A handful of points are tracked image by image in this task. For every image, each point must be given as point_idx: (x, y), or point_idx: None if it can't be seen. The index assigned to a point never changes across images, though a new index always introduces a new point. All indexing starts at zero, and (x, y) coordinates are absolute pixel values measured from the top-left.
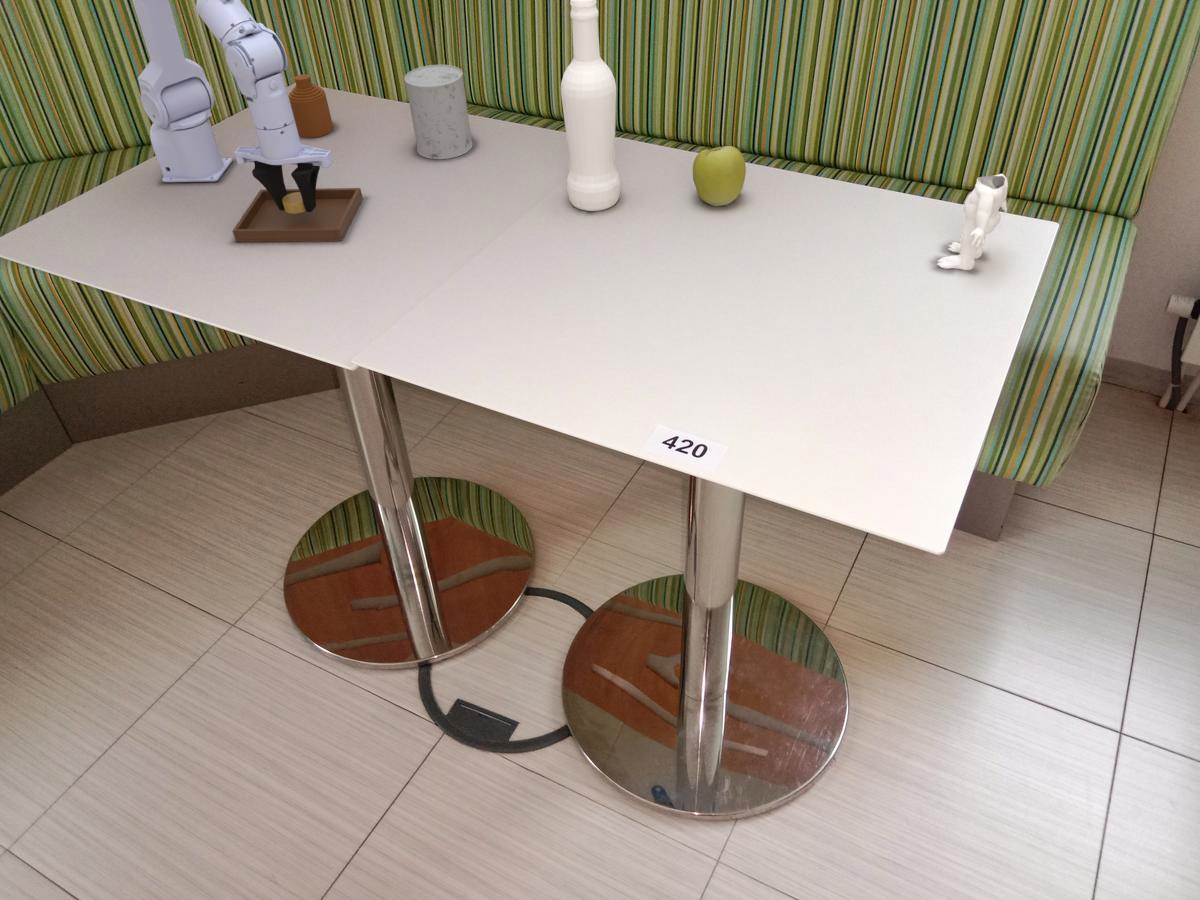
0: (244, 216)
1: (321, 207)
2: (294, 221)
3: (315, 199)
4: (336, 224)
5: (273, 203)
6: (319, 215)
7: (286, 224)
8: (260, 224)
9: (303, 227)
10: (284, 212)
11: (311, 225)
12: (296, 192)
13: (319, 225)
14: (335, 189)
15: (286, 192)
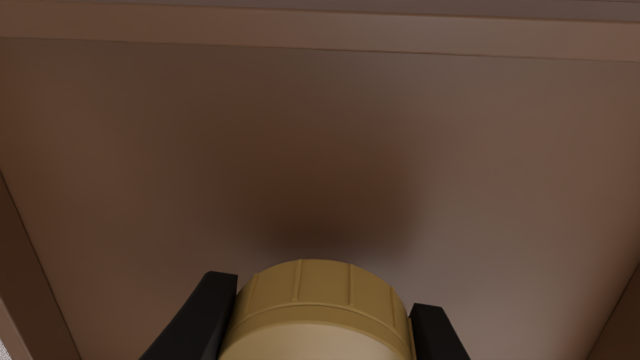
0: (22, 355)
1: (439, 165)
2: None
3: (460, 344)
4: (546, 341)
5: (44, 82)
6: (437, 255)
7: None
8: (120, 310)
9: None
10: (195, 207)
11: None
12: (298, 330)
13: None
14: (611, 49)
15: (211, 336)
